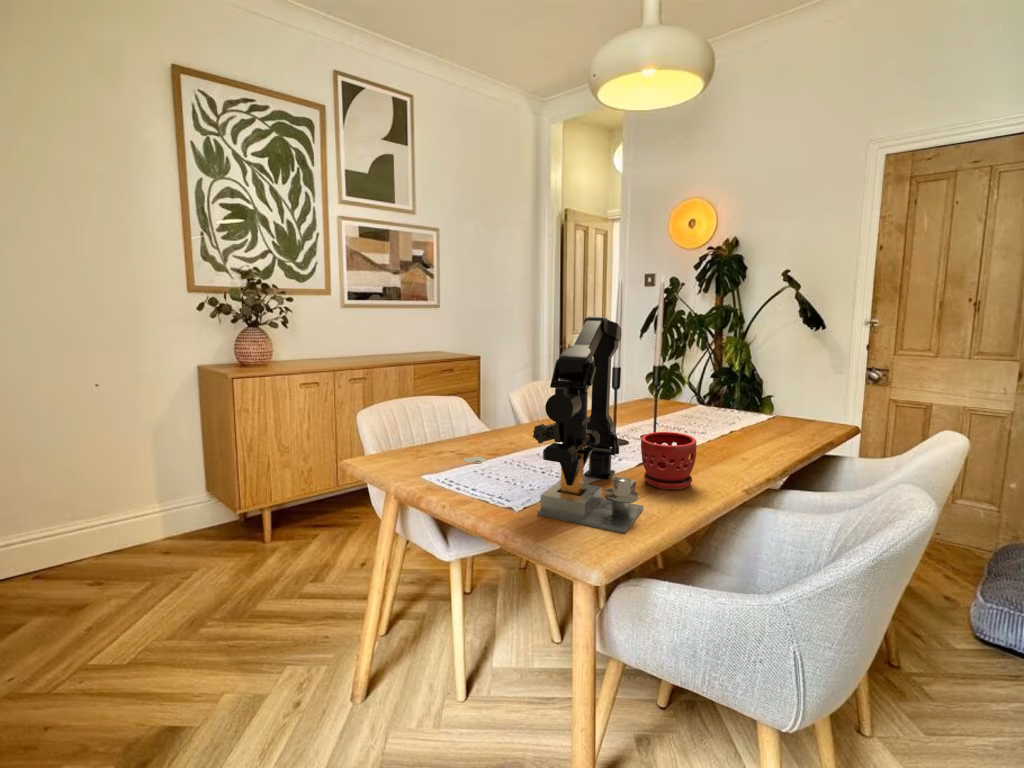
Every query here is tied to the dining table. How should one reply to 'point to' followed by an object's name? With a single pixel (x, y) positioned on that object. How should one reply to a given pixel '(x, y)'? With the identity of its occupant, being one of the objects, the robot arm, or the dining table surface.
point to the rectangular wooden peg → (577, 483)
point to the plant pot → (668, 459)
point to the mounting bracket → (475, 460)
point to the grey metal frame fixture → (594, 505)
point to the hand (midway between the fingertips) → (572, 482)
